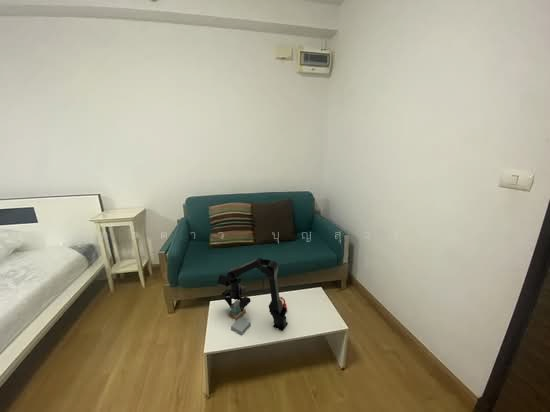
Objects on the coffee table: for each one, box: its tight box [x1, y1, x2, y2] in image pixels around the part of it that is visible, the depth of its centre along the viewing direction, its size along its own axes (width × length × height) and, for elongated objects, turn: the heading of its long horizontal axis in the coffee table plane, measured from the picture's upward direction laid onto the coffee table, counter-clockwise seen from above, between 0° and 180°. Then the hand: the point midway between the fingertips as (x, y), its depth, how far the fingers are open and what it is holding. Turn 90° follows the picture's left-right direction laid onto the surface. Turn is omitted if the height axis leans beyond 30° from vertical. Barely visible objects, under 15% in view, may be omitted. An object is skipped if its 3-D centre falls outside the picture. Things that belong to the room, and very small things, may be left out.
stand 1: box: [227, 308, 247, 322], centre depth 142 cm, size 8×8×2 cm
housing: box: [228, 299, 241, 316], centre depth 141 cm, size 5×7×5 cm
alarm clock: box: [279, 296, 288, 310], centre depth 147 cm, size 10×6×15 cm
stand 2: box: [230, 317, 252, 336], centre depth 132 cm, size 8×8×2 cm
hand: (236, 309), depth 141 cm, fingers open, 9 cm apart
